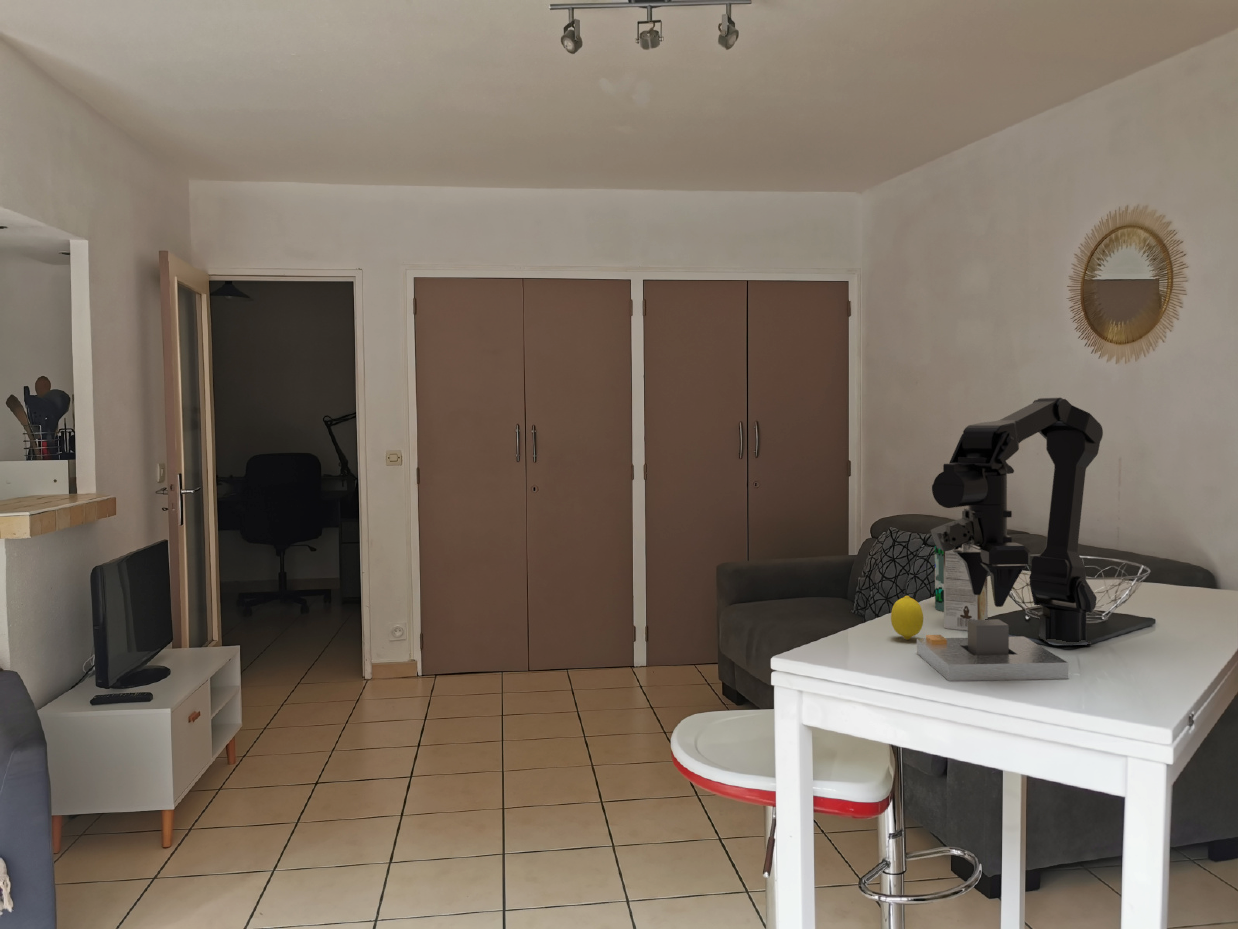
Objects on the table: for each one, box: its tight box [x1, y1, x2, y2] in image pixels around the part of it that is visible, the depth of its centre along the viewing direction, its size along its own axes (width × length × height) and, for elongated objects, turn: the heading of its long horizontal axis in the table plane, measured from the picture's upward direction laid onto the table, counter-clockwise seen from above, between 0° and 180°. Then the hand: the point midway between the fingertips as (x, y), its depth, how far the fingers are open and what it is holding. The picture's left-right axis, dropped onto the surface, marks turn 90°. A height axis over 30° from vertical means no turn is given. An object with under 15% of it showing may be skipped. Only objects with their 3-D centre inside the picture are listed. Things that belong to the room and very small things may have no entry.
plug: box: [967, 618, 1010, 655], centre depth 146 cm, size 5×4×7 cm
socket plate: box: [916, 634, 1069, 682], centre depth 146 cm, size 18×16×3 cm
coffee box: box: [943, 549, 989, 632], centre depth 172 cm, size 9×6×16 cm
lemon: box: [890, 595, 924, 641], centre depth 163 cm, size 6×6×8 cm
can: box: [934, 543, 944, 613], centre depth 186 cm, size 6×6×15 cm
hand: (987, 600), depth 145 cm, fingers open, 9 cm apart
